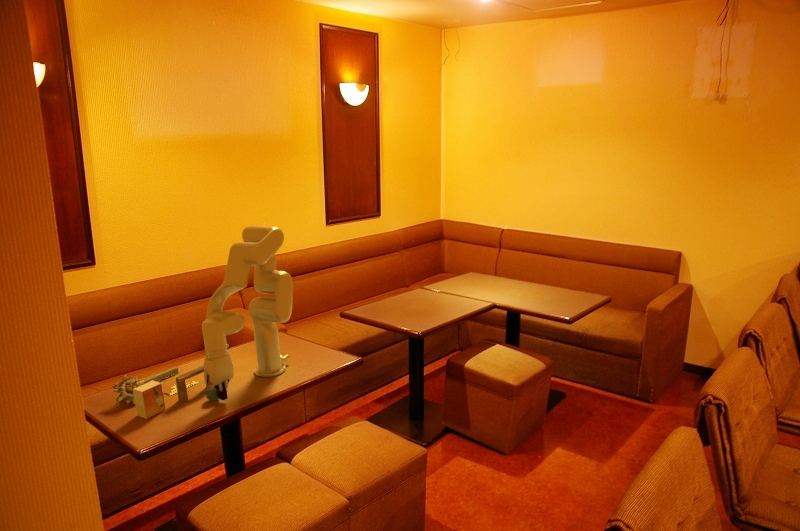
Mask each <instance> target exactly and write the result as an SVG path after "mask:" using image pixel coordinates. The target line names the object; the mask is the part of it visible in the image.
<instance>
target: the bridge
mask: <svg viewBox="0 0 800 531" xmlns="http://www.w3.org/2000/svg"><path fill="white" fill-rule="evenodd" d="M203 373H204V364H203V365H200V366H198V367H196V368H194V369H191V370H189V371H187V372H185V373H182V374H181V375H177V376H178V377H177V376H174V377H175V380H176V387H177V393H176V394H177V397H178V398H177V399H178V401H179V402H182V403H184V402H188V401H189V396H188V390H187V389H188V388H186V381H185V380H187V379H191V378H193V377H195V376H198V375H200V374H203ZM205 387H206V388H208V384H206V383H205Z"/></svg>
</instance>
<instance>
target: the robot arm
mask: <svg viewBox="0 0 800 531" xmlns="http://www.w3.org/2000/svg"><path fill="white" fill-rule="evenodd" d="M241 237H242V238H241V239H242V241H241V242H239V241H238V242H235V243H233V244H232V245H231V246H230V249H229V253H228V259H227V263H226V268H225V273H224V278H223V282H222V283H221V285H219V286H218V288H217V289H215V291H214V292H213V294H212V296H211V297H210V299H209V301H208V304H207V308H206V313H205V319H204V320H203V321H202V322H201V331H202V336H203V343H204V353H205V358H204V360H203V365H204V372H203V378H204V379H203V380H204V383H205V385H206V384H208V387H207V389H210V390H212V389H216V390H217V394H218V399H217V400H221V401H226V400H228V387H229V383H230V382H231V380H233V379H234V373H235V372H234V364H233V360H232V357H231V355H230V352H229V351H228V348H229V347H230V345H229V343H228V342H227V336H229V335H234V334H237V333H238V332H240V331H241V330H242V329H243V328H244V326H245V322H246V321H245V320H246V319H245V317H244V316H243V314H241V313H238V312H235V311H227V310H223V307H224V305H225V302H226V301H227V299H229V297H230V296H231V295H233V294H235V293H237V292H239V291H242V290H243V289H245V288H247V286H248V282H249V277H250V272H251V267H252V266H253V287H254V290H255V292H257V293H259V294H266V295H275V297H270V296H256V297H254V298H252V299H251V301H250V302H249V304H248V314H249V318H250V320H251V325H252V328H253V336H254V338H253V339H254V346H255V354H256V363H257V364H256V365H257V366H256V367H255V368H254V371H253V372H254V375H256V376H258V377H262V378H270V377H276V376H279V375H281V374H283V373H284V372H285V371H286V370H287V368H286V367H287V366H286V364H284V363H285V361H288V360H289V359H290V355H289V354H285V355H284V356H283V355H281V349H280V348H281V347H280V337H279V329H278V328H279V327H278V325H277V323H280V324H281V323H282V324H284V323H286V322H288V321H289V320H290V318H291V316H292V312H293V297H294V295H293V294H294V282H293V281H294V280H293V278H292V276H291V274H290V273H289V272H287V271H284V270H277V256H276V253H277V252H278V251H279V250H280V249H281V248H282V246H283V243H284V240H285V236H284V232H283V230H282V229H280V228H279V227H277V226H263V225H253V226H252V225H251V226H250V225H249V226H246V227H245V228H243V230H242V232H241Z"/></svg>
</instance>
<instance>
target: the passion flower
mask: <svg viewBox="0 0 800 531" xmlns="http://www.w3.org/2000/svg"><path fill="white" fill-rule="evenodd" d="M138 379H139V376H138V375H134V376H133V377H132V378H130V377H128V376H127V375H126V374H124V375H123V377H122V380H121V381H120V382H116V383H114V385H112V388H113V389H114V390H113V392H115V393H118V394H119V395H118V396H117V397H116V398H115V400H116V402H121V401H122V400H124V402H125V404H126V405H129V404H130V403H132V404H133V405H135V400H134V394H133V389H134V388H137V387H139V386H141V385H143V384H144V379H143V380H138Z"/></svg>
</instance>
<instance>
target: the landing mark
mask: <svg viewBox="0 0 800 531" xmlns="http://www.w3.org/2000/svg"><path fill="white" fill-rule="evenodd" d="M195 381H196V380H195ZM195 381H192V382H193V383H191V384H193V386H195V385H197V384H199V383H200V381H198V380H197V382H195ZM188 383H189V382H188ZM186 384H187V383H186ZM194 384H195V385H194ZM174 385H175V384H174ZM189 385H190V384H188V385H186V388H187V389H188V386H189ZM193 386H192V385H191V387H193ZM171 388H175V389H173V390H171V391H172V393H170V396H169V397H171V395H172V396H174V395H176V394H178V393H177V388H176V385H175V386H173V387H171ZM189 388H190V386H189ZM175 390H176V391H175ZM173 391H174V392H173ZM175 393H176V394H175ZM173 394H174V395H173Z"/></svg>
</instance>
